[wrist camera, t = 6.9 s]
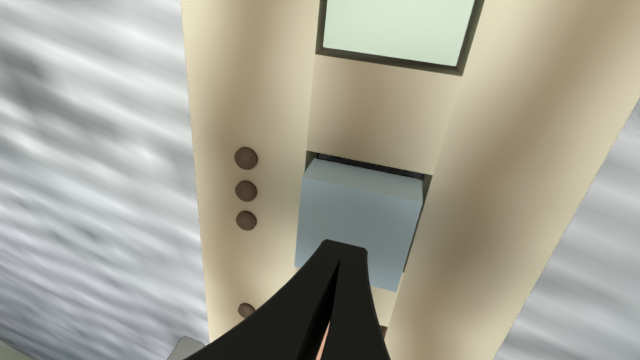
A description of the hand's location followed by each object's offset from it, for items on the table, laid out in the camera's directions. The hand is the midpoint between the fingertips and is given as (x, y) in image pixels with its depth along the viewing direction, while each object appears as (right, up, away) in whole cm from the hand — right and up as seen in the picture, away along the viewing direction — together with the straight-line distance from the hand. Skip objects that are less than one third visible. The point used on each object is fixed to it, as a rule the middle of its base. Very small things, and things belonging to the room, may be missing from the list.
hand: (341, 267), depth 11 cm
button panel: (+1, +2, +4) cm, 5 cm away
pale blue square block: (+1, +1, +3) cm, 3 cm away
